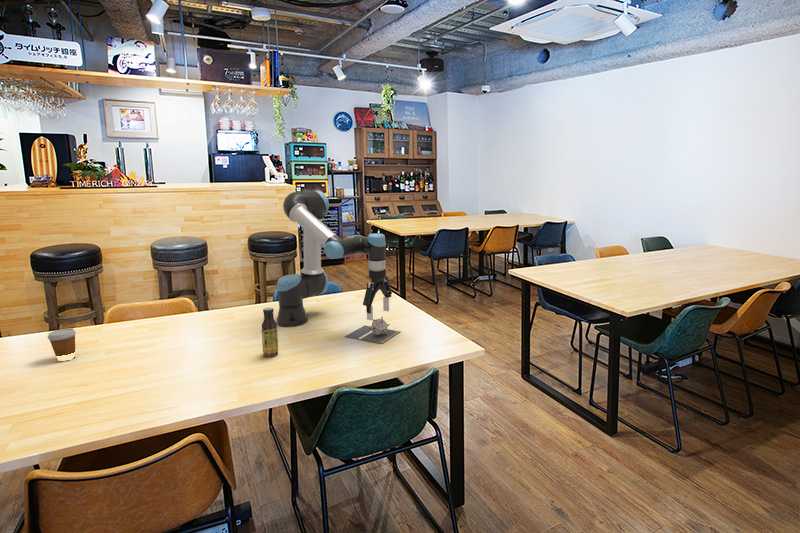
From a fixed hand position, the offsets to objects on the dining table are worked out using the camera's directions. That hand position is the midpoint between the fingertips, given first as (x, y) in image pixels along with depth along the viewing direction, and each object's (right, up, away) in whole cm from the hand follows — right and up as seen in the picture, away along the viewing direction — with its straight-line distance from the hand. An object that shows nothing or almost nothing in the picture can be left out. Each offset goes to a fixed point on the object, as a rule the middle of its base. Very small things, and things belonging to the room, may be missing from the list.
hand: (378, 315), depth 204 cm
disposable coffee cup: (-130, -17, -13) cm, 132 cm away
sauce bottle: (-44, -15, -16) cm, 49 cm away
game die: (0, -9, +1) cm, 10 cm away
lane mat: (-3, -9, +4) cm, 10 cm away
